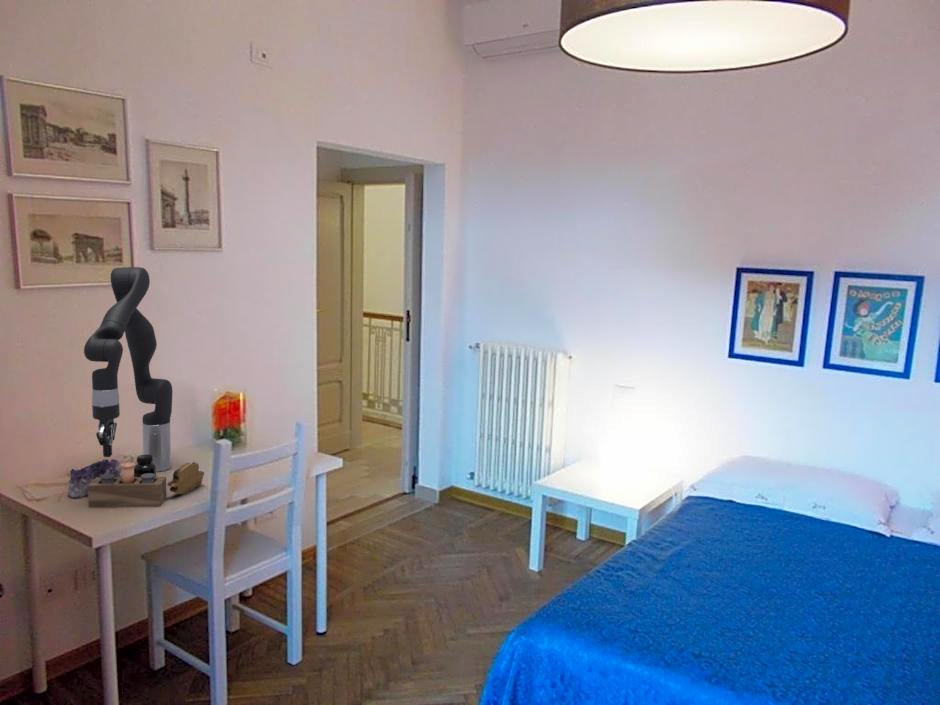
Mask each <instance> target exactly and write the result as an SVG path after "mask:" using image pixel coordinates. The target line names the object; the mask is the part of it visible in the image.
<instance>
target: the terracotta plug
mask: <svg viewBox="0 0 940 705" xmlns="http://www.w3.org/2000/svg"><path fill="white" fill-rule="evenodd" d="M135 465H136V463H135V462H133V461H132V462H131V461H127V462H126V461H125V462H121V463H119V466H120V468H121V469H120V470H121V471H122V484H126V483H134V466H135Z"/></svg>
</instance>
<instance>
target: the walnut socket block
mask: <svg viewBox="0 0 940 705" xmlns="http://www.w3.org/2000/svg"><path fill="white" fill-rule="evenodd" d="M166 499H167V477H166V476H156V477H155V478H154V483H142V478H141V477H134V483H126V484H122V477H115V478H114V483H113V484H101V479H100V477H96V478H95V479H94V480H93V481H92V482H91V483H90V484H89V485H88V499H87V500H88V508H123V507H124V506H125V507H124V508H128V507H127V506H129V507H131V506H132V508H133V507H134V508H135V507H138V506H139V507H161V506H162V504H163V503H164V502H165V500H166Z"/></svg>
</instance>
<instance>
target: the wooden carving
mask: <svg viewBox="0 0 940 705" xmlns="http://www.w3.org/2000/svg"><path fill="white" fill-rule="evenodd" d="M199 468H200V466H199V463H198V462H195V461H193V462H192V463H191V462H185V463H184V464H182V465H181V466H179V467H178V468H177V469H175V470H174V472H173V474H172V480H171V481H168V482H166V486H167V487H169V491H170V492H173V493H175V494H177V495H185V494H188V493H190V492H191V491H193V489H194V488H195V487H196V486H197V487H198V486H200V485H202V482H203V479H204V476H205V472H204V471H202V470H199Z"/></svg>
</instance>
